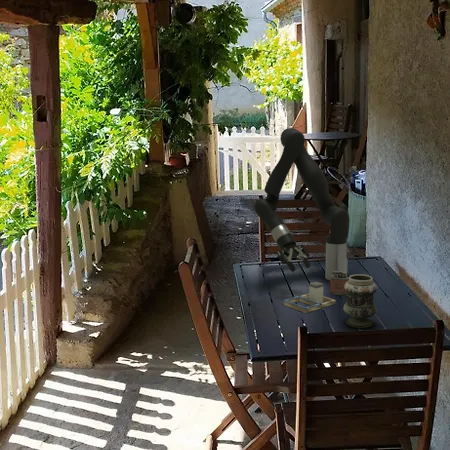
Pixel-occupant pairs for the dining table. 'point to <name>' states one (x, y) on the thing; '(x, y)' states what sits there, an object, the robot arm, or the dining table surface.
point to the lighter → (338, 283)
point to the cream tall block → (316, 292)
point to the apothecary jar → (360, 300)
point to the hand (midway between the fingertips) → (301, 268)
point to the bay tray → (304, 299)
